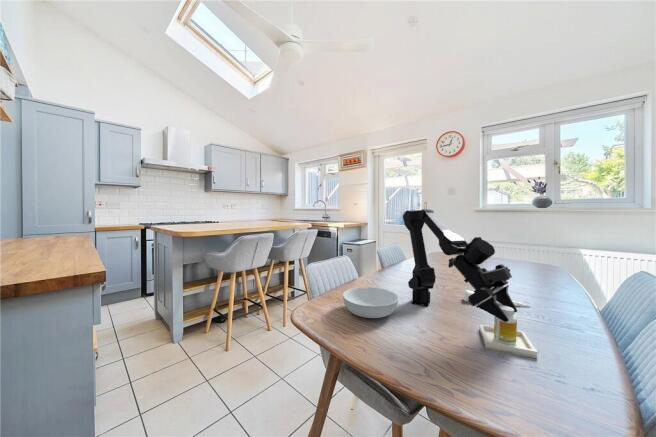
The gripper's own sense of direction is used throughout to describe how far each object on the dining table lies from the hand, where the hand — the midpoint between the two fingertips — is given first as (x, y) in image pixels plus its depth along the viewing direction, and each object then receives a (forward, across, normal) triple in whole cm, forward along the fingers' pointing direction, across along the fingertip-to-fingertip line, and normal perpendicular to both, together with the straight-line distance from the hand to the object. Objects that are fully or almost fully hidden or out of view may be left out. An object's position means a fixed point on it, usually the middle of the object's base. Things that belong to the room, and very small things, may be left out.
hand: (511, 316), depth 71 cm
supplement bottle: (+4, 0, +7) cm, 8 cm away
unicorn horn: (-3, +32, +16) cm, 35 cm away
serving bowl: (-23, -14, +35) cm, 44 cm away
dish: (+5, 0, +7) cm, 8 cm away
